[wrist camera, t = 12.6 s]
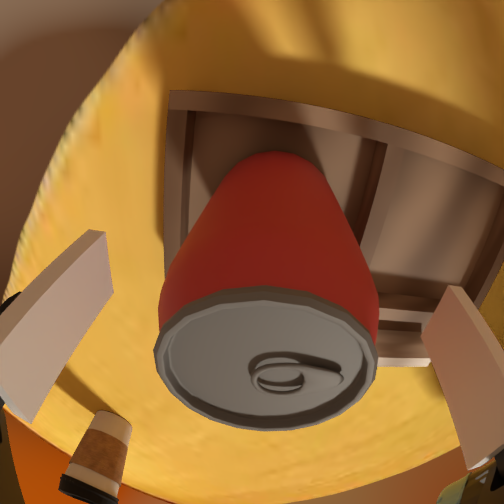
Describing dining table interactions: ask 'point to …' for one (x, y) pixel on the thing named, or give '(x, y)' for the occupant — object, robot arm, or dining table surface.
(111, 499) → the coffee cup
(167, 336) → the beer can
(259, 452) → the dining table surface
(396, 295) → the brown desk organizer
